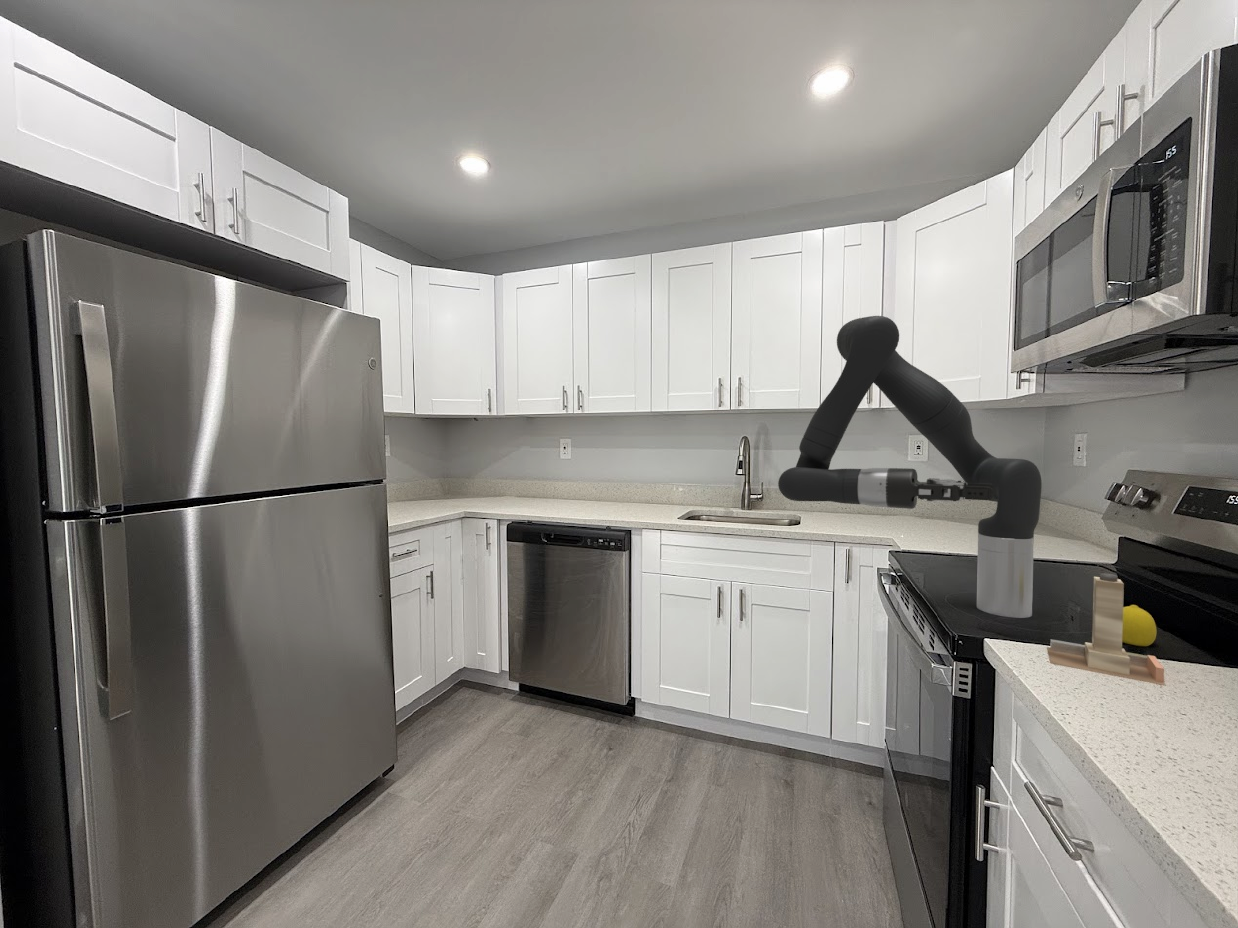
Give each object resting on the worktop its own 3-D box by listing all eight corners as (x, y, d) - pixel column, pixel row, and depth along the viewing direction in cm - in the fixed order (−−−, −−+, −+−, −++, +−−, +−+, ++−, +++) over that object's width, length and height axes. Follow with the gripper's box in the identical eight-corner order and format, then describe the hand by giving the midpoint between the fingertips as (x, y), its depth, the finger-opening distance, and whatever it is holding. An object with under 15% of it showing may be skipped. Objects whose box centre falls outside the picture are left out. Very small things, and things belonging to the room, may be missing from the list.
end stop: (1147, 667, 78) (1147, 654, 78) (1154, 669, 77) (1154, 656, 77) (1155, 680, 74) (1156, 667, 74) (1163, 682, 73) (1164, 668, 73)
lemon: (1140, 645, 90) (1142, 601, 90) (1164, 658, 85) (1166, 611, 85) (1103, 642, 92) (1104, 599, 92) (1124, 654, 86) (1125, 608, 86)
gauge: (1084, 657, 82) (1086, 569, 81) (1123, 664, 79) (1126, 574, 79) (1088, 666, 78) (1090, 575, 78) (1129, 674, 76) (1132, 580, 75)
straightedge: (1050, 647, 86) (1050, 639, 86) (1147, 665, 79) (1148, 655, 79) (1051, 650, 85) (1051, 641, 85) (1149, 668, 78) (1150, 658, 78)
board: (1046, 655, 86) (1046, 646, 86) (1151, 675, 79) (1152, 665, 79) (1050, 672, 80) (1050, 663, 80) (1165, 695, 72) (1165, 685, 72)
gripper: (880, 469, 91) (992, 471, 81) (893, 466, 102) (993, 468, 92) (880, 511, 91) (991, 518, 81) (893, 503, 102) (992, 509, 93)
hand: (992, 491), depth 87 cm, fingers open, 8 cm apart
